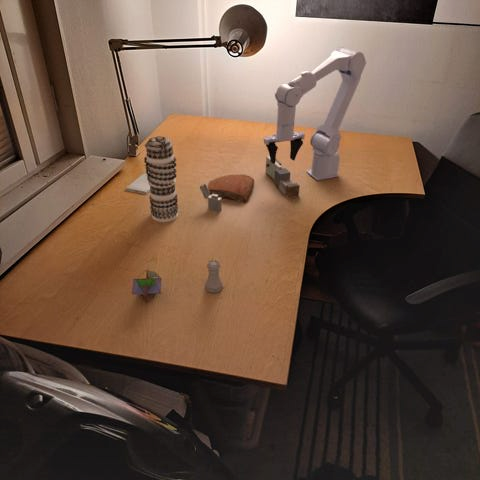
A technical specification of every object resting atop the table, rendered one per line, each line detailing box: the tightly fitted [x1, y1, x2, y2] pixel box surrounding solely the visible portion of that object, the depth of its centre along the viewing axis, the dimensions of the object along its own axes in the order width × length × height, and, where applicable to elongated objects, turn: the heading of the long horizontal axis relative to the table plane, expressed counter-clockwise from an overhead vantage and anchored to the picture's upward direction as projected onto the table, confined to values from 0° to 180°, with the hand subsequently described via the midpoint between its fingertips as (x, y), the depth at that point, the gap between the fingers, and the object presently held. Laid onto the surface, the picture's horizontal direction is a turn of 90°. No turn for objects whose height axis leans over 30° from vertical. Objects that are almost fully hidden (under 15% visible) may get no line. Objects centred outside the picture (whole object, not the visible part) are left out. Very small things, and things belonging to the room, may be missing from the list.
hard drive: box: [125, 172, 150, 195], centre depth 159 cm, size 2×8×12 cm
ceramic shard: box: [207, 173, 255, 203], centre depth 155 cm, size 15×6×15 cm
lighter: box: [199, 183, 222, 213], centre depth 144 cm, size 7×2×8 cm, turn 64°
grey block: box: [273, 167, 291, 188], centre depth 158 cm, size 4×4×5 cm
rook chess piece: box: [204, 259, 224, 294], centre depth 110 cm, size 4×4×8 cm
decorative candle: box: [143, 136, 179, 223], centre depth 135 cm, size 9×9×25 cm
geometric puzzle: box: [131, 269, 162, 303], centre depth 108 cm, size 7×7×8 cm
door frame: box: [276, 158, 300, 199], centre depth 160 cm, size 4×22×6 cm, turn 23°
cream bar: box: [265, 155, 283, 180], centre depth 163 cm, size 2×10×6 cm, turn 23°
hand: (282, 161), depth 155 cm, fingers open, 7 cm apart
